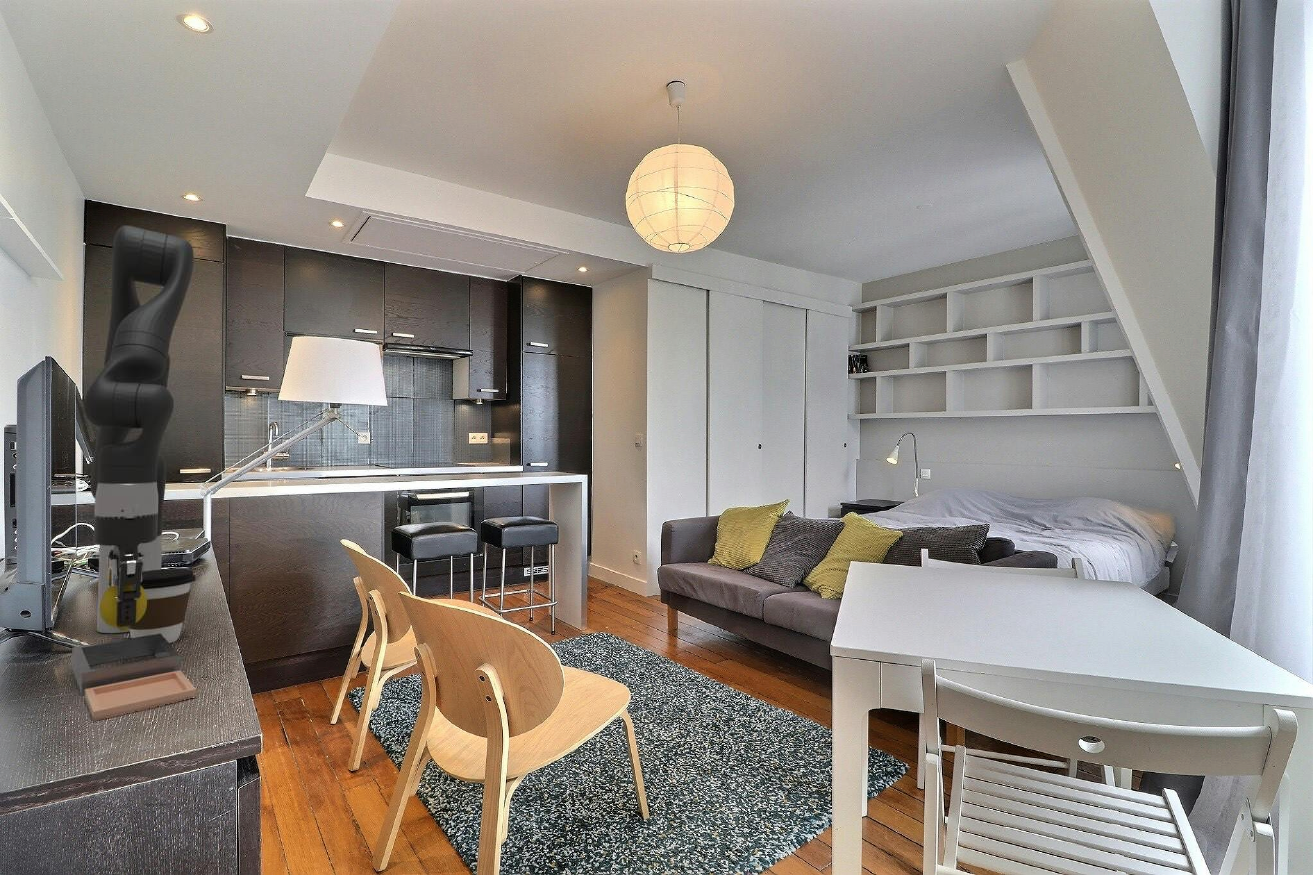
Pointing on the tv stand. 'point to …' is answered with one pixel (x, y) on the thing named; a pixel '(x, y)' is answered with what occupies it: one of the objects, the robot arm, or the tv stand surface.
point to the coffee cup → (164, 603)
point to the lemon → (110, 606)
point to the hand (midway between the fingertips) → (123, 620)
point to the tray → (138, 694)
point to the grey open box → (121, 650)
